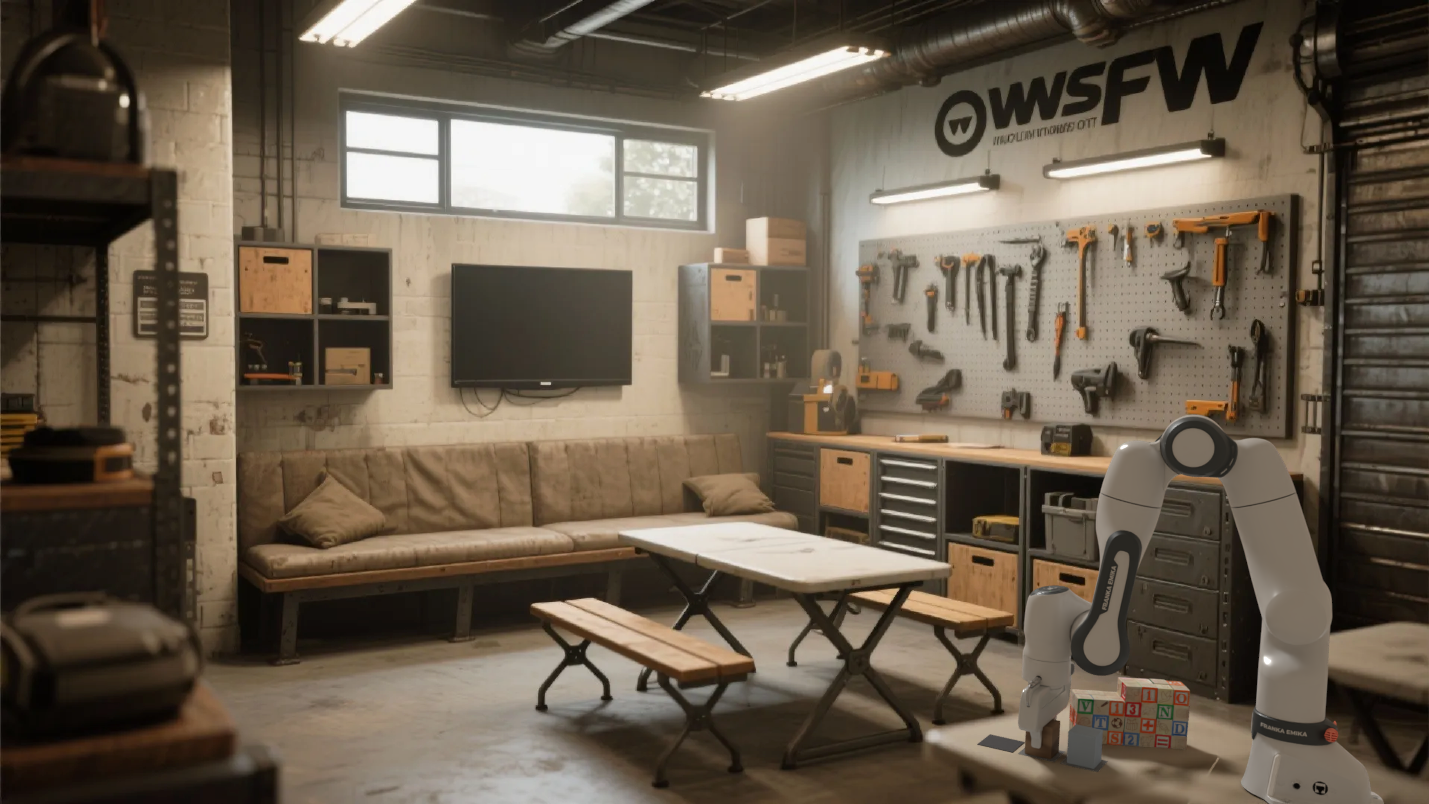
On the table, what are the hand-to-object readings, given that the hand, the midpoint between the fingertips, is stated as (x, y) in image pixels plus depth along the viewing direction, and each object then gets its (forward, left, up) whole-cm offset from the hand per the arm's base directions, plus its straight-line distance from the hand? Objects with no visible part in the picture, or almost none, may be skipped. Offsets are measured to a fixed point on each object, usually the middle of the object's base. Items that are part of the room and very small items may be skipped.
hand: (1042, 742), depth 224 cm
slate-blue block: (-8, 0, -2) cm, 8 cm away
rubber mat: (+8, 0, -2) cm, 8 cm away
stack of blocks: (-11, -18, -3) cm, 21 cm away
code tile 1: (0, 0, -2) cm, 2 cm away
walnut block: (0, 0, -2) cm, 2 cm away
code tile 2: (-8, 0, -2) cm, 8 cm away
